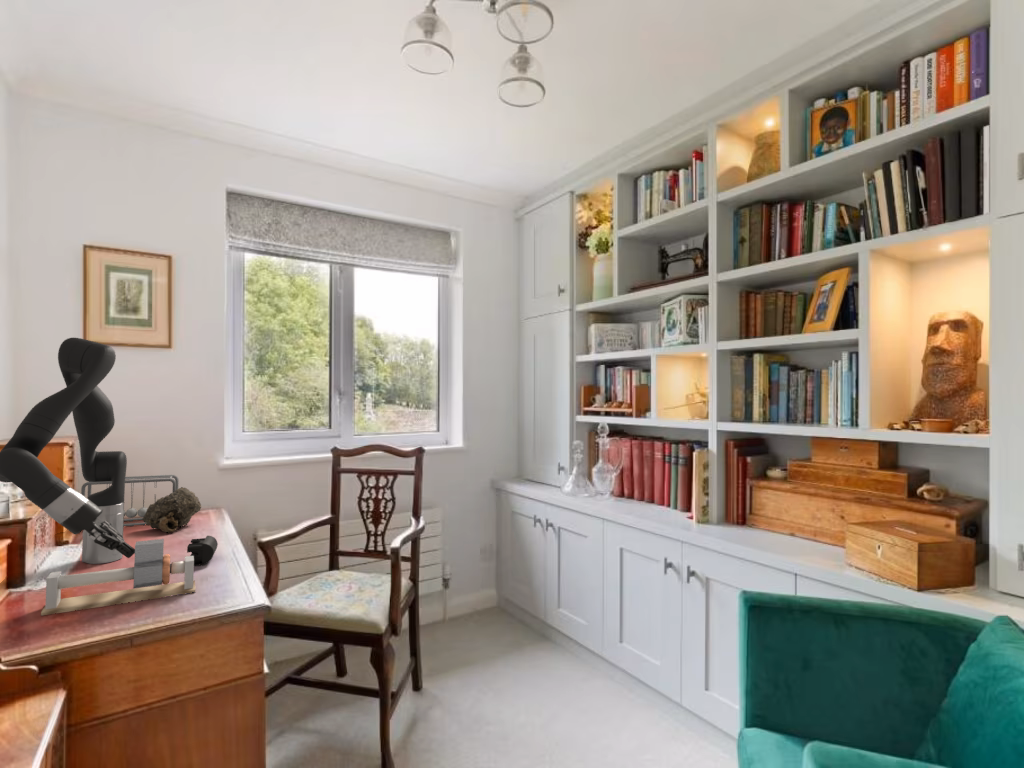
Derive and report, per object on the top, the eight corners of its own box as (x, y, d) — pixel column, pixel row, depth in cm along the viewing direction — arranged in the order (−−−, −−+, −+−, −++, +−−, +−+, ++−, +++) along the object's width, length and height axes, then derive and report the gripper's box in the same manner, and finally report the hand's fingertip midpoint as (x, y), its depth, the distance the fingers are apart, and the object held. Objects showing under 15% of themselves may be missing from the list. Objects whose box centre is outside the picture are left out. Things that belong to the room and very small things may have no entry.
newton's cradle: (79, 530, 201) (81, 482, 202) (86, 524, 211) (88, 478, 211) (174, 523, 215) (176, 478, 215) (177, 517, 224) (178, 474, 224)
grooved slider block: (133, 588, 136) (134, 546, 137) (135, 581, 142) (136, 540, 142) (161, 584, 140) (163, 543, 140) (162, 577, 145) (163, 537, 145)
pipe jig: (45, 612, 128) (46, 578, 128) (49, 605, 132) (50, 572, 133) (193, 591, 144) (193, 560, 144) (192, 585, 148) (193, 555, 148)
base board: (41, 615, 127) (41, 612, 127) (48, 603, 133) (48, 600, 133) (195, 592, 143) (195, 589, 143) (194, 583, 149) (194, 580, 149)
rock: (178, 480, 215) (182, 478, 203) (206, 505, 219) (211, 505, 207) (135, 516, 205) (136, 516, 193) (166, 541, 209) (168, 544, 197)
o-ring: (161, 587, 139) (162, 559, 139) (162, 579, 145) (163, 552, 145) (169, 586, 140) (169, 558, 140) (169, 578, 146) (170, 551, 146)
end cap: (213, 565, 165) (214, 542, 165) (186, 567, 163) (187, 544, 163) (217, 555, 174) (218, 534, 175) (191, 558, 172) (192, 536, 172)
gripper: (83, 503, 129) (143, 549, 135) (91, 494, 140) (147, 536, 146) (53, 528, 126) (116, 574, 132) (64, 516, 137) (122, 559, 143)
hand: (132, 554), depth 139 cm, fingers closed
